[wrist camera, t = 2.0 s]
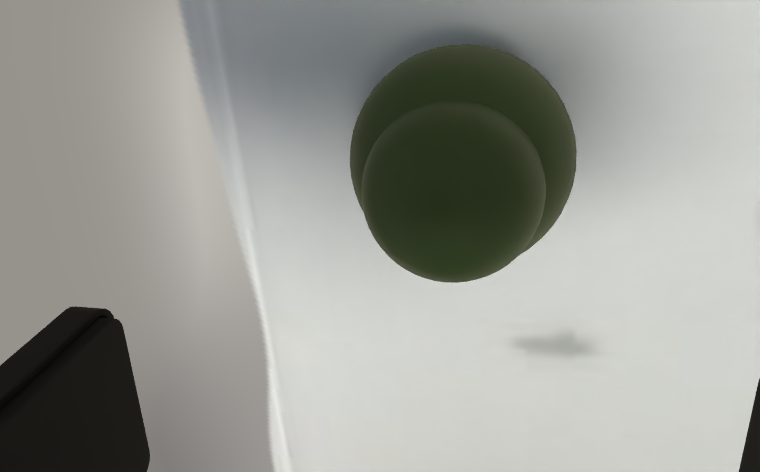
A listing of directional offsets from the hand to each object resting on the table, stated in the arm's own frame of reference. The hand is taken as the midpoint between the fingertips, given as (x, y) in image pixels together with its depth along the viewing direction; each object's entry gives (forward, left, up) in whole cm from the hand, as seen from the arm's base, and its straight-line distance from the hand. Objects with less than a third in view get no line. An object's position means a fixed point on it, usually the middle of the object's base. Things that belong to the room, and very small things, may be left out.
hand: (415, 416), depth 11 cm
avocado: (0, 0, -13) cm, 13 cm away
